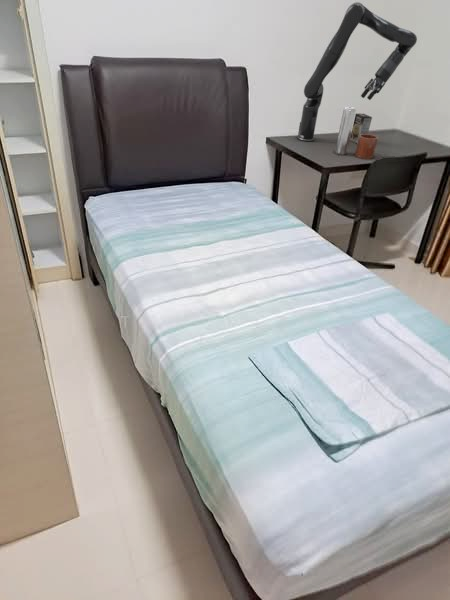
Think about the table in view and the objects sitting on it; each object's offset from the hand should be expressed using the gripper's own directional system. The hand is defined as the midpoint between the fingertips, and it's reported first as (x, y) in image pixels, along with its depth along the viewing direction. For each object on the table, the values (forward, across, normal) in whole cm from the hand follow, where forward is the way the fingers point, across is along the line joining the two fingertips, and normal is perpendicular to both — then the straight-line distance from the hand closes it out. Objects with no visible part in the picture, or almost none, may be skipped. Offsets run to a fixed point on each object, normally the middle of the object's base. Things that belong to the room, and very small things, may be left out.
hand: (365, 98), depth 237 cm
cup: (+23, +3, +20) cm, 31 cm away
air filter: (+30, -1, +9) cm, 31 cm away
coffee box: (+17, -27, +26) cm, 41 cm away
